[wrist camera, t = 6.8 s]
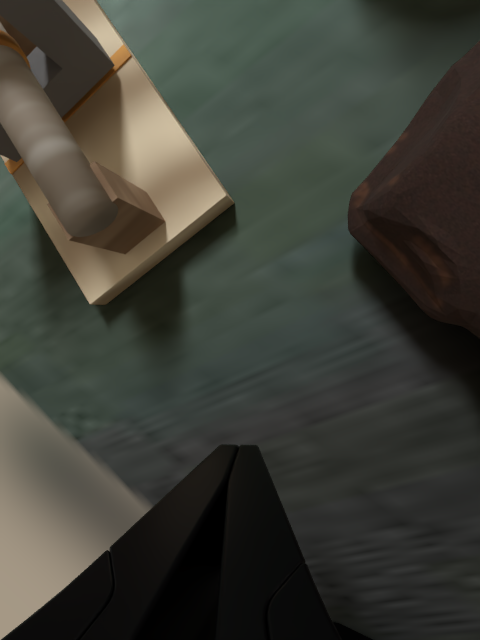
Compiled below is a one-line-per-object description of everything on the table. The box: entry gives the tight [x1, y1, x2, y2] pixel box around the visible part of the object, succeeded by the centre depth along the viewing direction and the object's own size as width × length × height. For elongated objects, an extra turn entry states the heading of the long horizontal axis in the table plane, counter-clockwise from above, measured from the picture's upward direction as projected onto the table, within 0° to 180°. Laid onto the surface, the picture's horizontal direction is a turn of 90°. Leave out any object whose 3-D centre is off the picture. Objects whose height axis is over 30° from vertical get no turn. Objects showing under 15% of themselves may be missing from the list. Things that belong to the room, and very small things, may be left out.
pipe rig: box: [0, 0, 234, 305], centre depth 19 cm, size 17×10×7 cm, turn 35°
